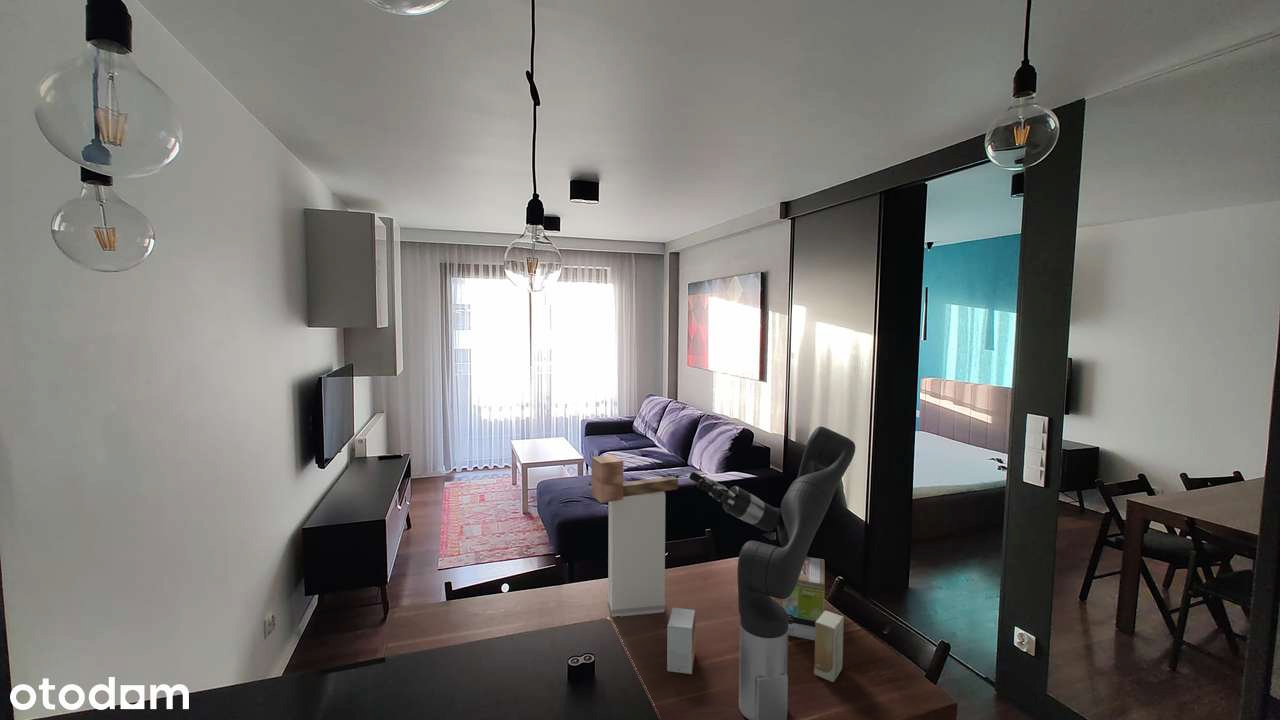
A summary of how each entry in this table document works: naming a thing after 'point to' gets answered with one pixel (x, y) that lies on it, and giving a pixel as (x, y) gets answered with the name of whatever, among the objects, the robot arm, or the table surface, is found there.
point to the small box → (681, 640)
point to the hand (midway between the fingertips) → (694, 478)
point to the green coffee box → (806, 599)
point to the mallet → (611, 484)
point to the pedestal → (636, 555)
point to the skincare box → (828, 645)
